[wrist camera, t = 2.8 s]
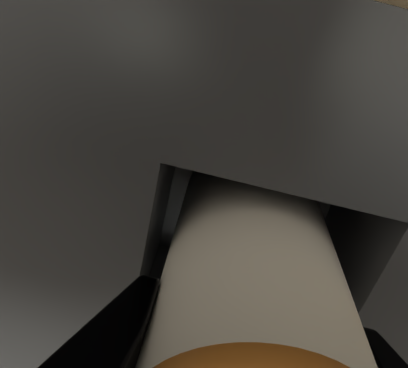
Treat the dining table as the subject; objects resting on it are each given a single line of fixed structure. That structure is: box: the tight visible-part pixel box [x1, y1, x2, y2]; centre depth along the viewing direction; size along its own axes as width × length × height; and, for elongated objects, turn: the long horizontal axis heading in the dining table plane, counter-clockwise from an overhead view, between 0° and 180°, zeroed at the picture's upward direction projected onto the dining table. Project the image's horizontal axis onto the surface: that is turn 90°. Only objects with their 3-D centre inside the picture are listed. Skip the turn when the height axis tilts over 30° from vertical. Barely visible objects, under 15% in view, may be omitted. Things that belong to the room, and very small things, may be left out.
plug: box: [135, 171, 378, 368], centre depth 8 cm, size 4×4×8 cm
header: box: [0, 0, 408, 368], centre depth 11 cm, size 12×12×5 cm
